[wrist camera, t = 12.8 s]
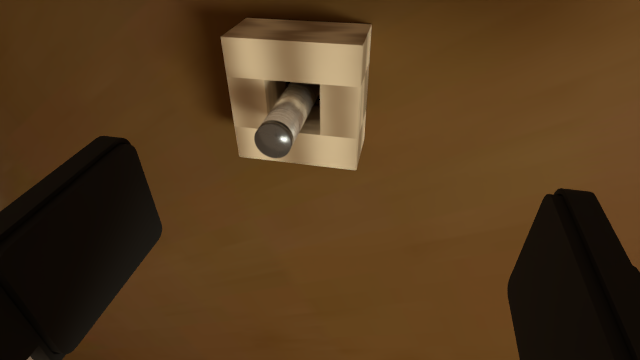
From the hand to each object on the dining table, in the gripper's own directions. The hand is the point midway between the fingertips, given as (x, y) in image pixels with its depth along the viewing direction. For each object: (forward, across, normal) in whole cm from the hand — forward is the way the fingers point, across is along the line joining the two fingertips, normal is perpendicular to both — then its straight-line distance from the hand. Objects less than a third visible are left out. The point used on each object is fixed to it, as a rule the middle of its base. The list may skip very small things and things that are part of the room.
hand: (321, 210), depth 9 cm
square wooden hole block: (+30, +8, +10) cm, 33 cm away
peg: (+30, +8, +10) cm, 33 cm away
